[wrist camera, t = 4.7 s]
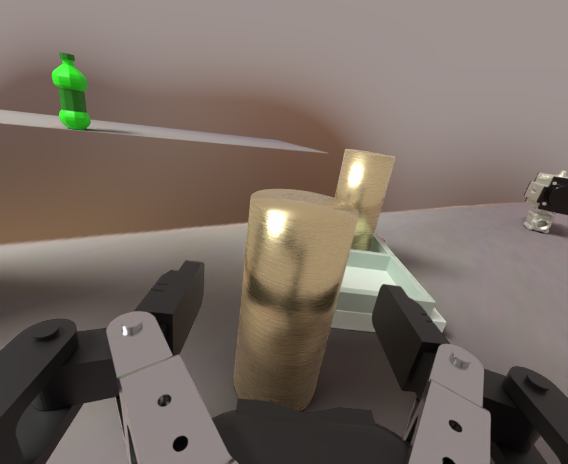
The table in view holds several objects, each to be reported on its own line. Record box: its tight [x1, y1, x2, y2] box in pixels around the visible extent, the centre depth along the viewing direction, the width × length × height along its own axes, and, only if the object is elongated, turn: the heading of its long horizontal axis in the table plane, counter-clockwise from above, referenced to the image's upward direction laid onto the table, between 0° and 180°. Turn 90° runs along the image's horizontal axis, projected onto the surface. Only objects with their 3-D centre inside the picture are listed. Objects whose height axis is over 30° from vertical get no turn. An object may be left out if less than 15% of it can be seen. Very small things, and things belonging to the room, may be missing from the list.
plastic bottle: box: [52, 53, 91, 130], centre depth 102 cm, size 10×10×25 cm
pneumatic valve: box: [523, 171, 568, 233], centre depth 54 cm, size 6×12×12 cm, turn 152°
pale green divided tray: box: [331, 233, 447, 332], centre depth 26 cm, size 10×14×3 cm
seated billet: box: [335, 149, 395, 251], centre depth 27 cm, size 4×4×10 cm
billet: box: [233, 189, 359, 411], centre depth 13 cm, size 4×4×10 cm
